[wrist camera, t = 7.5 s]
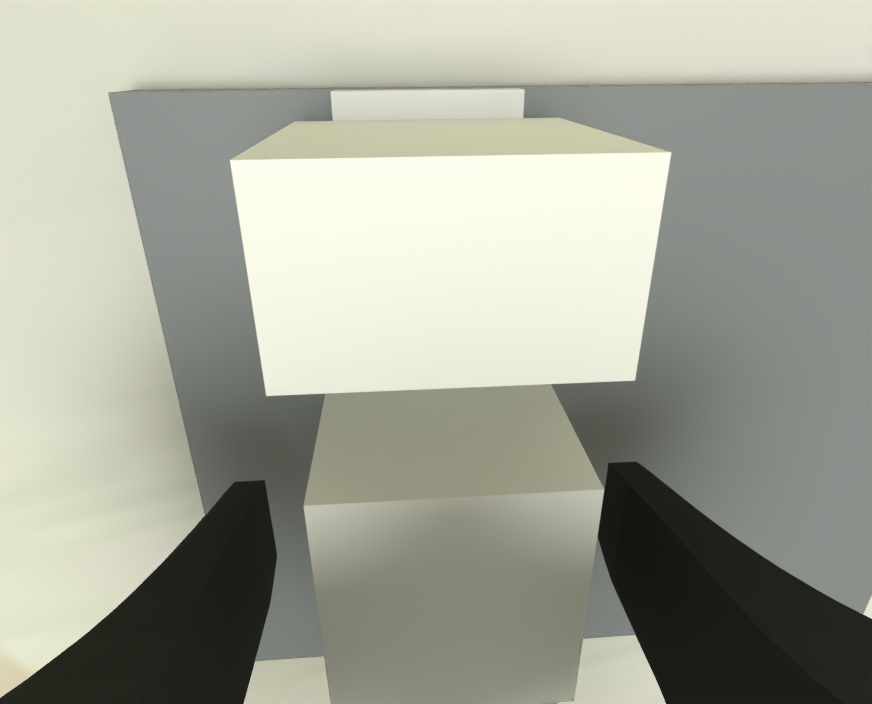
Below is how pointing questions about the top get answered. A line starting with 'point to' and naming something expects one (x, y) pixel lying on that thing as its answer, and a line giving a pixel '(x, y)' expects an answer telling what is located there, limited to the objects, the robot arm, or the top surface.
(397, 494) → the block
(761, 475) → the rail panel
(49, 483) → the top surface
